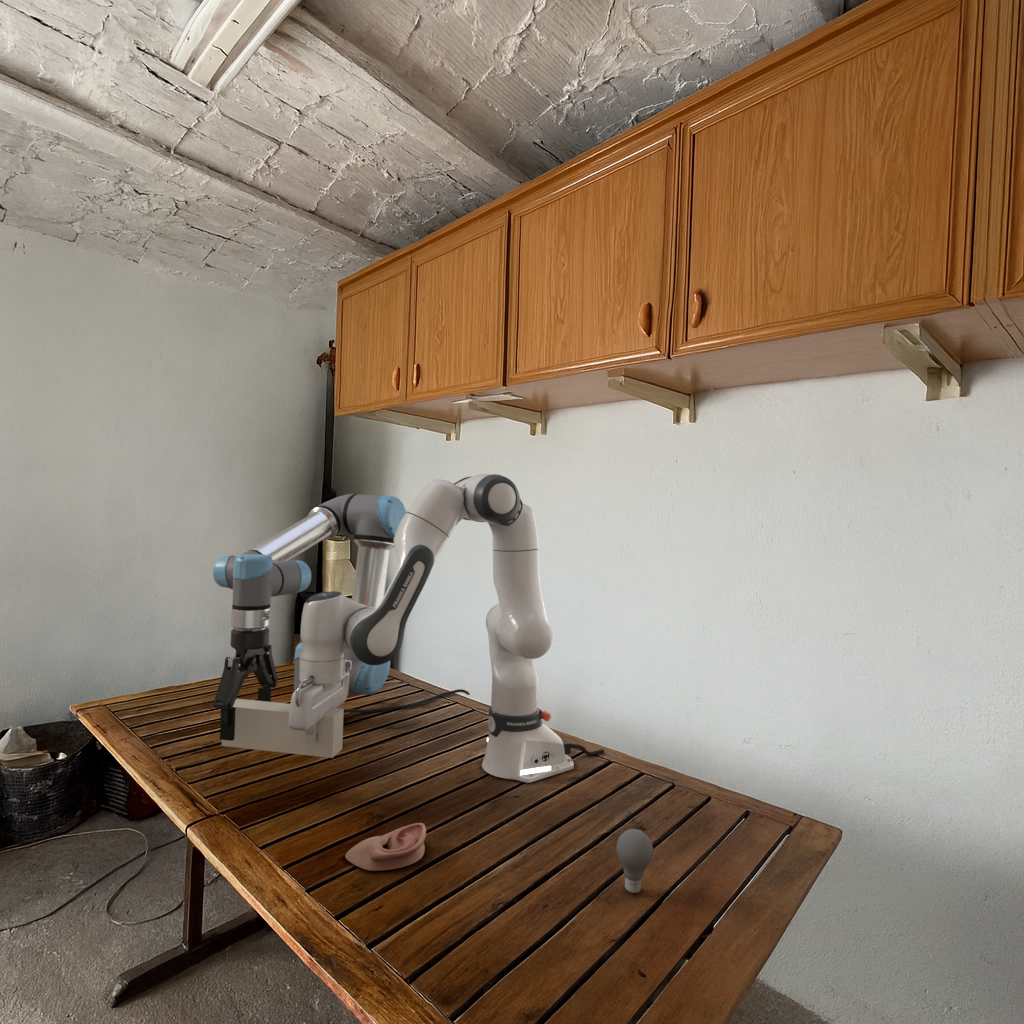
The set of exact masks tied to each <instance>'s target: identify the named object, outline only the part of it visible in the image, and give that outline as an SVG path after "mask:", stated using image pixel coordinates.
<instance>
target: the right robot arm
mask: <svg viewBox="0 0 1024 1024" xmlns="http://www.w3.org/2000/svg"><path fill="white" fill-rule="evenodd" d="M462 520H465V521H471V522H477V523H487V524H488V526H489V527H490V530H491V535H492V576H493V581H492V582H493V585H494V588H495V590H496V595H497V599H498V603H496V604H494V605H492V606H491V607H490V608H489V610H488V611H487V613H486V617H485V627H486V631H487V635H488V648H489V649H488V650H489V656H490V657H489V658H490V666H491V701H490V702H491V703H490V705H489V708H488V711H489V712H488V720H487V721H488V722H487V723H488V724H487V727H488V737H486V742H487V744H486V748H485V753H484V756H483V760H482V762H481V768H482V769H483V771H484V772H486V773H487V774H489V775H491V776H494V777H497V778H500V779H506V780H515V781H519V782H522V783H526V784H527V783H529V784H531V783H533V782H537V781H539V780H542V779H543V780H544V779H546V778H549V777H552V776H556V775H559V774H563V773H565V772H568V771H572V770H574V769H575V765H574V764H575V763H574V761H573V759H572V758H571V757H570V756H569V755H571V748H573V749H579V750H581V751H582V752H583V753H584V754H585V755H587V756H591V757H592V756H597V755H600V754H604V753H605V749H604V748H601V749H597V750H593V751H589V750H588V749H587V748H586V747H585V746H584V745H582V744H578V743H571V742H570V741H568V740H567V739H566V738H564V737H560V736H559V734H557V733H556V732H555V731H553V729H551V728H550V727H549V726H548V725H546V724H545V723H544V721H545V722H550V720H551V719H552V714H551V713H550V712H548V711H547V710H542V709H541V708H539V707H538V689H539V688H538V687H539V677H538V673H537V669H536V665H535V661H534V660H535V659H539V658H541V657H543V656H544V655H546V653H548V652H549V650H550V649H551V646H552V645H553V639H554V635H553V634H554V633H553V630H552V627H551V625H550V623H549V621H548V617H547V611H546V606H545V602H544V597H543V592H542V587H541V579H540V550H539V549H540V547H539V533H538V526H537V520H536V516H535V513H534V510H533V509H532V507H530V506H529V505H527V504H525V503H523V500H522V498H521V496H520V493H519V490H518V488H517V486H516V484H515V482H513V481H512V480H511V479H510V478H508V477H506V476H505V475H501V474H496V473H495V474H488V473H481V474H476V475H473V476H466V477H463V478H461V479H459V480H457V481H456V482H454V483H453V482H452V481H449V480H446V479H440V478H439V479H434V480H432V481H430V482H428V484H427V485H426V486H425V487H424V488H423V489H422V490H421V491H420V493H418V495H417V496H416V498H414V500H413V501H412V503H411V504H410V506H409V507H408V509H407V510H406V514H405V515H404V517H403V519H402V520H401V522H400V524H399V526H398V529H397V531H396V534H395V537H394V549H395V550H394V551H395V553H396V556H397V566H396V567H397V568H396V571H395V574H394V577H393V578H392V579H391V580H392V581H391V583H390V584H389V586H388V588H387V590H386V591H385V594H384V597H383V599H382V601H381V603H380V605H379V606H378V608H377V609H375V608H373V607H371V606H367V605H363V604H360V603H357V602H355V601H353V600H352V598H349V597H348V596H345V595H344V594H343V593H342V592H341V591H336V590H335V591H334V590H333V591H323V592H318V593H315V594H313V595H311V596H309V597H308V598H307V599H306V600H305V602H304V604H303V608H302V612H301V619H300V620H301V621H300V640H301V642H302V650H301V653H300V662H299V680H300V681H301V682H300V683H299V687H298V689H296V690H295V691H294V690H293V693H292V694H291V699H290V704H291V705H290V714H289V726H290V728H291V729H293V730H302V731H305V732H306V735H307V737H306V741H307V743H310V744H314V743H315V742H316V741H317V740H318V733H316V729H315V727H316V726H317V722H318V721H319V720H321V719H322V718H323V715H324V714H326V713H327V712H328V711H330V710H331V709H332V708H337V707H338V706H339V705H340V706H341V705H342V704H344V703H345V702H346V701H347V699H348V696H349V692H348V690H349V671H350V670H351V667H352V662H351V661H350V660H344V653H345V652H346V651H349V650H353V652H354V654H355V655H356V657H357V658H358V659H359V660H360V661H361V662H363V663H365V664H368V665H381V664H384V663H387V662H388V661H390V662H391V661H392V660H393V659H394V658H395V657H396V656H397V655H398V653H399V652H400V650H401V649H402V646H403V642H404V635H405V629H406V625H407V623H408V620H409V617H410V615H411V613H412V611H413V609H414V607H415V605H416V603H417V601H418V599H419V597H420V595H421V593H422V591H423V589H424V587H425V585H426V582H427V581H428V579H429V577H430V574H431V571H432V570H433V567H434V565H435V563H436V561H437V559H438V557H439V556H440V554H441V552H442V550H443V549H444V547H445V545H446V544H447V542H448V540H449V539H450V536H451V535H452V533H453V532H454V530H455V527H456V526H457V525H458V524H459V522H461V521H462ZM543 720H544V721H543Z"/></svg>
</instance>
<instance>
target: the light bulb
mask: <svg viewBox="0 0 1024 1024" xmlns="http://www.w3.org/2000/svg"><path fill="white" fill-rule="evenodd" d="M615 849H616V854H617V857H618V859H619V861H620V863H621V865H622V867H623V873H624V874H623V875H624V876H625V878H624V888H625V890H627V891H628V892H630V893H634V894H635V893H639V892H640V891H641V889H642V887H641V886H642V879H643V877H644V875H645V871H646V868H647V867H648V866H649V864H650V863H651V861H652V859H653V855H654V847H653V843H652V841H651V838H649V836H648V835H647V834H646V833H645V832H643V831H642V830H641V829H636V828H629V829H627V830H625V831H623V832H622V833H621V834H620V835H619V837H618V839H617V841H616V847H615Z"/></svg>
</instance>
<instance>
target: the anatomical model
mask: <svg viewBox="0 0 1024 1024" xmlns="http://www.w3.org/2000/svg"><path fill="white" fill-rule="evenodd" d="M426 837H427V827H426V824H425V823H423V822H415V823H412V824H408V825H404V826H402V827H399V828H396V829H394V830H392V831H390V832H388V833H384V834H382V835H375V836H372V837H367V838H365V839H364V840H361V841H360V842H358V843H357V844H356V845H353V847H351V848H350V849H349V850H348V851H347V852H346V853H345V856H344V857H345V860H347V862H349V863H350V864H352V865H354V866H356V867H357V868H360V869H362V870H364V871H367V872H378V871H380V872H381V871H389V870H396V869H400V868H404V867H407V866H410V865H412V864H415V863H417V862H418V861H420V860H421V859H422V858H423V857H424V854H425V851H426V849H425V848H426V846H425V843H424V842H425V840H426Z"/></svg>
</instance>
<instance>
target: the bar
mask: <svg viewBox="0 0 1024 1024" xmlns="http://www.w3.org/2000/svg"><path fill="white" fill-rule="evenodd" d="M290 705H291V703H287V702H275V701H271V702H266V701H258V700H255V699H243V698H236V701H235V703H234V705H233V707H236V713H235V737H234V740H233V741H229V740H221V747H228V748H236V749H246V750H254V751H265V752H273V753H281V754H282V753H283V754H292V755H298V756H299V755H300V756H309V757H317V758H319V757H320V758H328V759H334V757H335V756H336V755H338V754H339V753H340V752H341V751H342V750H343V741H344V739H343V738H344V717H345V716H344V715H345V714H344V709H345V708H341V709H338V708H332V709H331V710H330V711H328V712H327V713H326V714H324V715H323V718H322V719H321V720H319V721H318V722H317V726H316V727H315V729H316V733H318V740H317V741H316V742H315V743H314V744H310V743H307V741H306V737H307V735H306V732H305V731H302V730H293V729H291V728H290V726H289V714H290Z"/></svg>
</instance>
